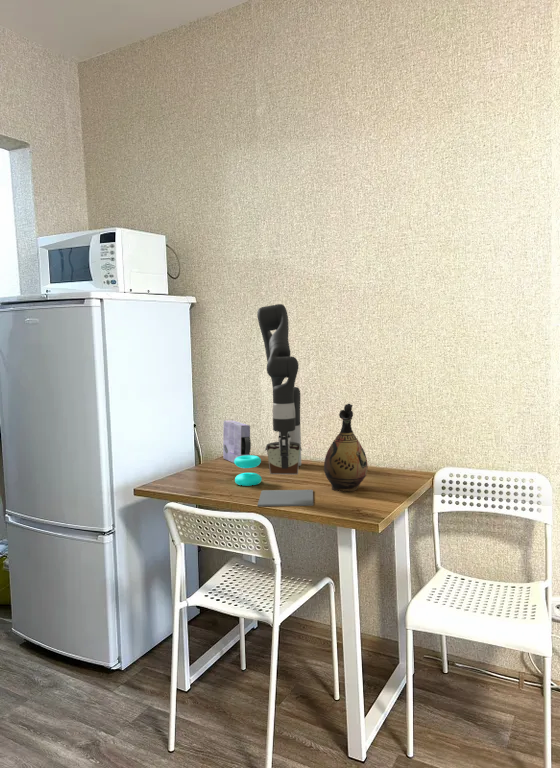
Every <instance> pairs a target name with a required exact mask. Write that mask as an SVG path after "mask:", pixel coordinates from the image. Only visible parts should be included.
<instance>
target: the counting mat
mask: <svg viewBox="0 0 560 768" xmlns="http://www.w3.org/2000/svg"><path fill="white" fill-rule="evenodd" d="M301 506H303V507H307V506H311V507H312V506H314V490H313V489H275V490H274V489H273V490H272V489H271V490H270V489H265V490H263V489H262V490H261V492H260V495H259V498H258V501H257V507H301Z"/></svg>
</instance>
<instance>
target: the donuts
mask: <svg viewBox="0 0 560 768" xmlns="http://www.w3.org/2000/svg"><path fill="white" fill-rule="evenodd" d="M261 463H262V459H261V457H259V456H258V455H254V454H253V455H251V454H250V455H245V456H239V457H237V458H235V460H234V463H233V464H234V465H235V466H236V467H238V468H241V469H252V468H257V467H258V466H259V465H260V464H261ZM262 479H263V478H262V476H261V475H260V474H258V473H256V472H243V473H239V474H237V475H236V476H235V478H234V482H235V484H236V485H239V486H241V485H242V486H243V487H252V485H253V486H258V485H259V484H260V483H261V482H262Z"/></svg>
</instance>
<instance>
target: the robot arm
mask: <svg viewBox="0 0 560 768" xmlns="http://www.w3.org/2000/svg"><path fill="white" fill-rule="evenodd" d="M256 313H257V314H256V315H257V321H258V327H259V329H260V332H261V336H262V340H263V344H264V350H265V355H266V372H267V374H268V376H269V377H270V379H271V385H272V430H273V432H275V433H278V441H277V442H279V450H280V453H281V454H280V456H281V464H282V469H287V468H288V456H289V455H288V450H289V449H290V442H297V443H299V444H300V446H301V447H302V435H301V434H302V433H301V428H302V427H301V390H300V388H299V387H298V386H295V383H296V378H297V376H298V375H297V374H298V373H299V369H300V366H299V361H298V360H297V358H296V356H292V355H291V349H290V343H289V316H288V315H289V314H288V310H287V308H286V306H285V305H284V304H282V303H276V304H272V305H265V306H261V307H260V308H259V307H258V309H257V312H256ZM271 331H274V332H273V333H272V332H271ZM286 378H287V381H286V382H284V381H285V379H286ZM283 382H284V383H283ZM301 449H302V448H301ZM301 449H300V455H299V467H300V466H301V467H302V451H301ZM283 450H286V453H282V451H283Z"/></svg>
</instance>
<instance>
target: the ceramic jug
mask: <svg viewBox="0 0 560 768" xmlns="http://www.w3.org/2000/svg"><path fill="white" fill-rule="evenodd" d="M338 414H339V415H338V416H339V418H340V419H341V420H342V424H341V429H340V431H339V433H338V434H337V435H336V437H335V439H334V440H333V441H332V443H331V444H330V446H329V448H328V449H327V452H326V454H325V458H324V462H323V471H324V475H325V478H326V479H327V481H328V482H329V483H330V485H331V490H332V491H337V492H344V493H345V492H355V491H357V490H358V488H359V486H360V485H361V483H362V482H363V481H364V479H365V478H366V477H367V473H368V467H369V466H368V465H369V464H368V458H367V456H366V452H365V449H364V447H363V446H362V445H361V443H360V440H359V439H358V438H357V436H356V435H355V433H354V431H353V428H352V420H353V417H354V412H353V404H351V403H347V404H345V405H344V407H343V409H341V410H340V412H339V413H338Z"/></svg>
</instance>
